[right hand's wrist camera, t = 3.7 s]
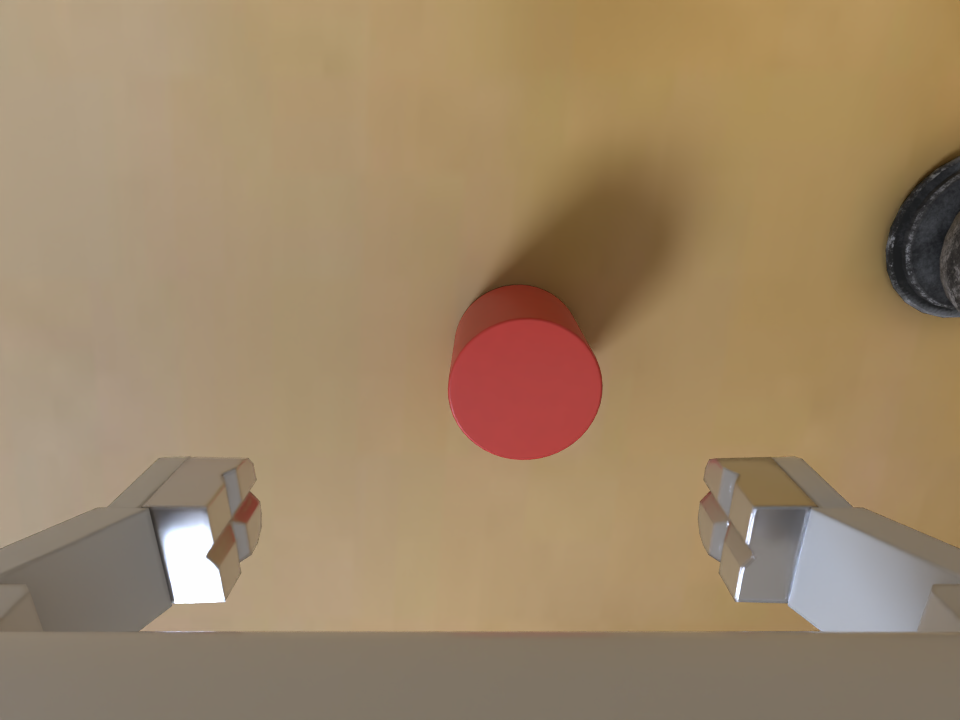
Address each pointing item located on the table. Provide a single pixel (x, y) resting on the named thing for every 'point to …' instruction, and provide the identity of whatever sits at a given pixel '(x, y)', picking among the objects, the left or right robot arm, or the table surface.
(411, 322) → the table surface
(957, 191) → the dark grey tapered piece
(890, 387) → the table surface
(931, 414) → the table surface
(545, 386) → the can
